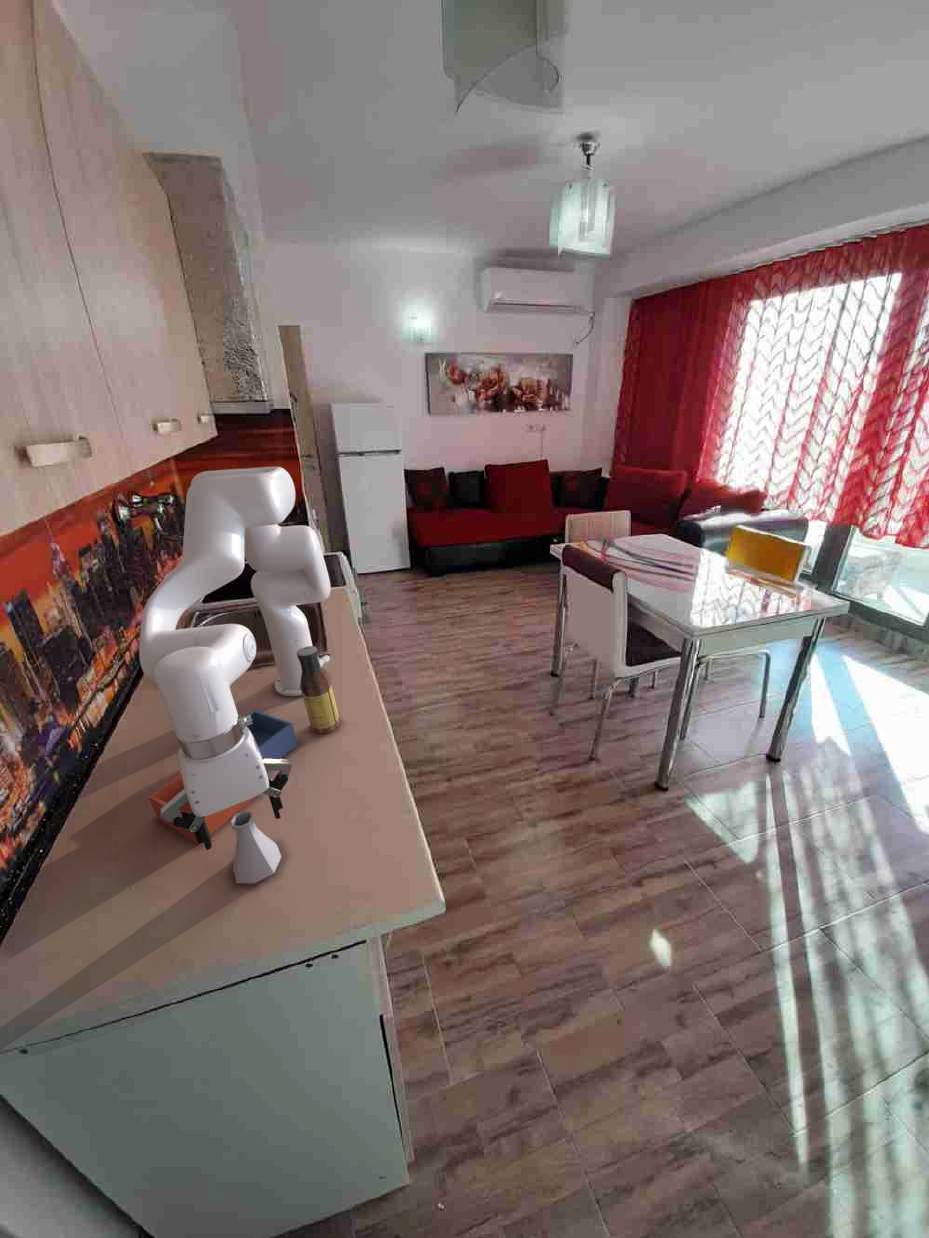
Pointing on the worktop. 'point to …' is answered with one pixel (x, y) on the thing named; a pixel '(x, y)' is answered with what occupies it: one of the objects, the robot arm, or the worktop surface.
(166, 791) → the terracotta bin
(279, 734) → the blue bin
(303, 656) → the sauce bottle
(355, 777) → the worktop surface
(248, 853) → the flask
